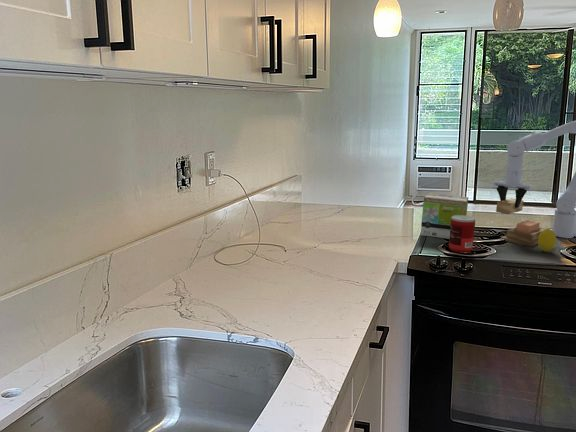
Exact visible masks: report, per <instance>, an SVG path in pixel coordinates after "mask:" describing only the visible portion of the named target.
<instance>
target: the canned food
mask: <svg viewBox="0 0 576 432" xmlns="http://www.w3.org/2000/svg"><path fill="white" fill-rule="evenodd" d="M475 226H476V218H475V217H473V216H470V215H467V216H464V215H455V216H452V218H451V227H450V239H448V249H449V250H450V251H453V252H456V253H469V252H472V251H473V248H474V237H475V229H476V227H475ZM471 250H472V251H471Z"/></svg>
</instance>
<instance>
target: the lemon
mask: <svg viewBox="0 0 576 432" xmlns="http://www.w3.org/2000/svg"><path fill="white" fill-rule="evenodd" d="M545 229H546V230H543V231H542V232H541V233H540V234H539V236H538V244H537V245H538V247H539V248H540V249H541V250H543V251H544V252H545V253H547V252H548V251H551V250H553V249H554V248H555V246H556V243H557V236H556V235H555V233H554V232H553V231H552V229H550V228H545Z"/></svg>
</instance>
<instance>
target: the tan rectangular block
mask: <svg viewBox="0 0 576 432" xmlns="http://www.w3.org/2000/svg"><path fill="white" fill-rule="evenodd" d="M540 223H541V222H539V221H534V220H528V219H527V220H524V221H521V222H517V223H516V226H515V228H516V231H519V232H524V233H532V232H534V231H537V230H539V227H540Z"/></svg>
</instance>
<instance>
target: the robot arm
mask: <svg viewBox="0 0 576 432" xmlns="http://www.w3.org/2000/svg"><path fill="white" fill-rule="evenodd" d="M565 134H576V120H573V121H569V122H567V123H564V124H562V125H560V126H558V127H555V128H552V129H550V130H548V131H545V132H542V131H538V130H537V131H536V130H535V131H534V130H533V131H532V132H530V134H528V135H525V136H523V137H522V136H519V137H518V140H517V139H516V140H512V141H511V142H509V143H508V144H507V146H506V151H507V159H506V164H505V167H506V168H505V174H504V175H505V176H504V181H503V180H493V182H492V183H493V184H492V186H493V187H496V186H497V187H496V191H497V193H498V196H499V199H500V200H499V201H502V200H507V195H508V194H507V193H508V190H509V189H510V188H511V189H514V190H515V199H516V201H515V208H518V207H519V205H520V203H521V200H523V198H524V197H525V195H526V194H527V192H528V191H533V190H532V189H533V184H527V183H522V182H521V181H522V172H523V165H524V163H523V162H524V153H525V152H530V151H534V150H536V149H538V148H541V147H544V146H545V145H546V142H547V141H549V140H552V139H554V138H558V137H560V136H563V135H565ZM555 207H556V209H554V214H553V224H552V229H551V231H553V232H554V233H555V235H556V237H559V238H563V239H564V238H565V239H568V238H570V239H573V238H575V237H576V209H575V208H576V171H575V172H574V174H573V176H572V178H571V180H570V182H569V184H568V185H567V188H566V189H565V190H564V193H563V194H561V195H560V197H559V198H558V199H557V200H556V202H555ZM574 236H575V237H574Z"/></svg>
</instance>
